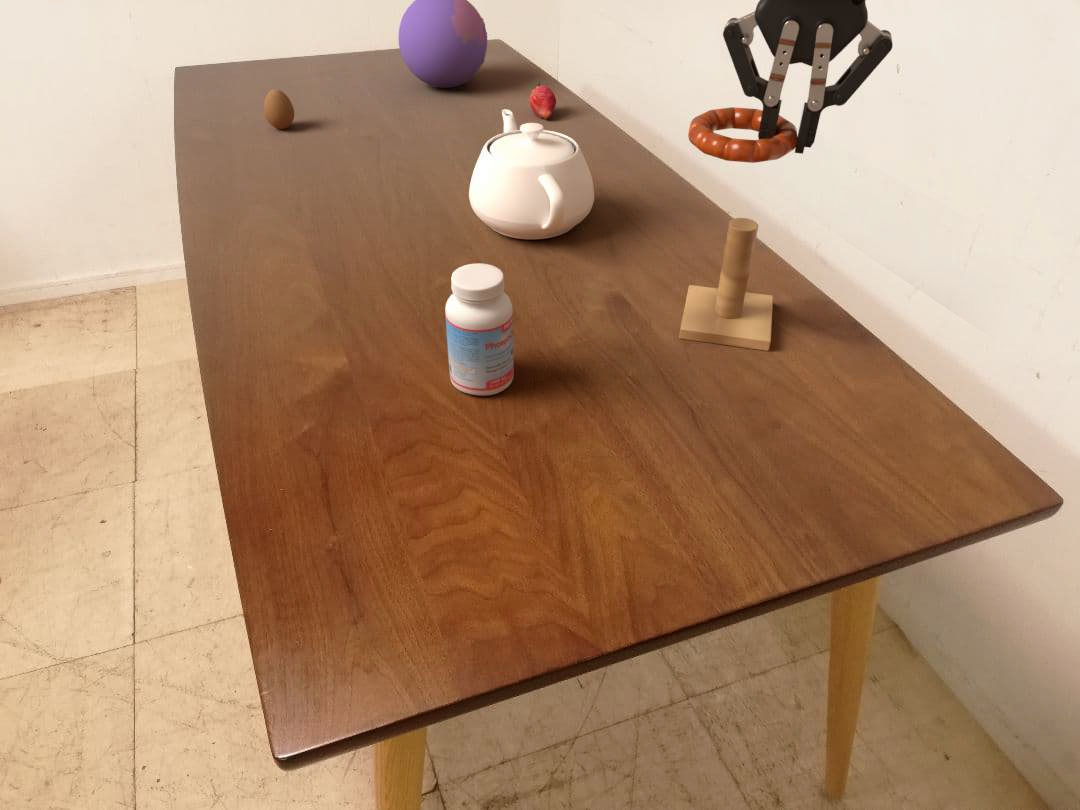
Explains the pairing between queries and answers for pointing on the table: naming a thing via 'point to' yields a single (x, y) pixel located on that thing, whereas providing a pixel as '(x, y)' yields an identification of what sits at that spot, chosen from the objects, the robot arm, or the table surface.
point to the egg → (278, 109)
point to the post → (730, 299)
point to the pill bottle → (479, 331)
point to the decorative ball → (443, 41)
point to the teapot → (531, 182)
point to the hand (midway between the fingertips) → (783, 147)
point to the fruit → (542, 101)
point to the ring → (740, 148)
